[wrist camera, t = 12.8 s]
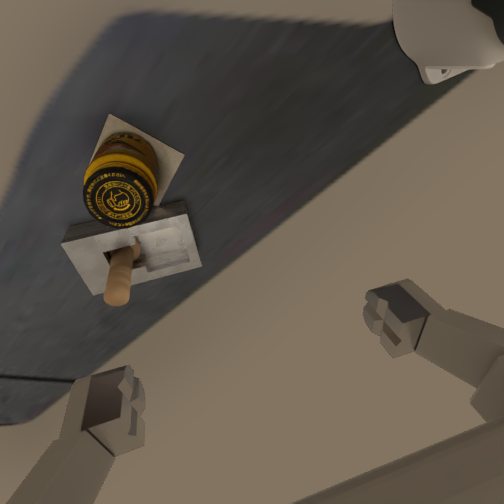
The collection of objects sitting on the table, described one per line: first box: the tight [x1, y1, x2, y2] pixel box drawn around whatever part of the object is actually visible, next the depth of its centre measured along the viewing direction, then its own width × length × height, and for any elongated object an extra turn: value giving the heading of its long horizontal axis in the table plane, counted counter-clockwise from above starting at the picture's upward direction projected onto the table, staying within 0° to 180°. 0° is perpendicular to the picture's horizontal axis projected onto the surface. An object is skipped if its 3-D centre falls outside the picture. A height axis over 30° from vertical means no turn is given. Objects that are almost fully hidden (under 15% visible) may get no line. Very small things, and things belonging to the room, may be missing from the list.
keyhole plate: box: [61, 200, 202, 295], centre depth 37 cm, size 14×8×4 cm, turn 97°
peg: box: [104, 236, 141, 306], centre depth 34 cm, size 4×4×10 cm
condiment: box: [83, 114, 184, 229], centre depth 28 cm, size 7×8×12 cm
